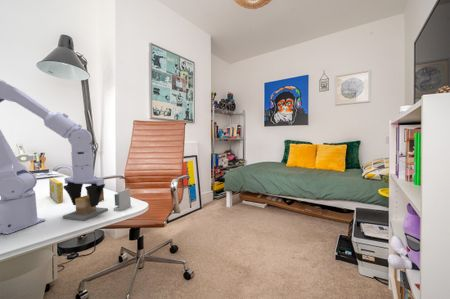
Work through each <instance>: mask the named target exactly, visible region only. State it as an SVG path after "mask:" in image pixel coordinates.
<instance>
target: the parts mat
mask: <svg viewBox="0 0 450 299" xmlns="http://www.w3.org/2000/svg"><path fill="white" fill-rule="evenodd" d="M107 211H109V208H108V207H99V206H96V211H93V212H91V213H88V214H86V215H84V214H76V210H75V211H72V212H70V213H67V214H64V215H62V219H63V220H74V221H80V222H82V221H83V222H86V221H88V220H90V219H92V218H95V217H96V216H98V215H102V214H104V213H106V212H107Z"/></svg>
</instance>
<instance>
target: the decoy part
mask: <svg viewBox="0 0 450 299" xmlns="http://www.w3.org/2000/svg"><path fill="white" fill-rule="evenodd" d="M86 195H88V196H89V194H88V192H87V191H86ZM104 195H105V194H104V189H103V190H102V192H101V195H100V198H99V202H100V201H101V202H103V201H105V198H104V197H105V196H104ZM102 200H103V201H102Z"/></svg>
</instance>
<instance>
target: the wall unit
mask: <svg viewBox="0 0 450 299" xmlns="http://www.w3.org/2000/svg"><path fill="white" fill-rule="evenodd" d="M113 196H114V206H115V207H114V208H113V211H115V210H116V212H117V211H119V212H122V211H123V210H124V211H125V209H129V208H130V207H131V206H132V204H131V202H132V200H131V189H130V188H128V187H127V188H125V189H123V190H119V191H118V193H115V194H114V195H113Z"/></svg>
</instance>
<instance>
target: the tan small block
mask: <svg viewBox="0 0 450 299" xmlns="http://www.w3.org/2000/svg"><path fill="white" fill-rule="evenodd" d="M75 204H76V205H75V211H76V214H84V215H86V214H88V213H91V212H93V211H96V207H97V206H94V207H91V204H90V198H89V196H88V195H87V194H86V195H84V196H81V197H80V198H77V199H75Z"/></svg>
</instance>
